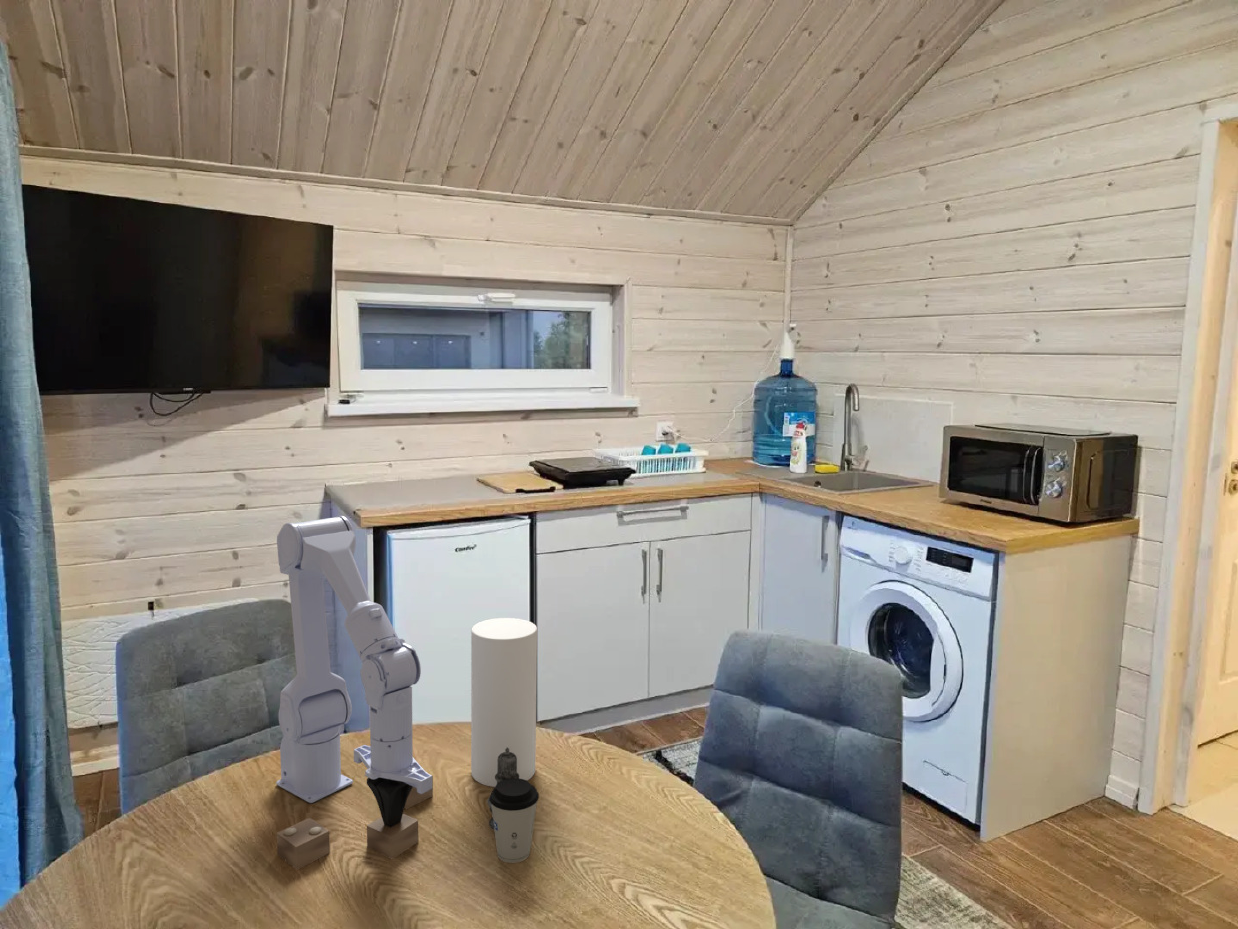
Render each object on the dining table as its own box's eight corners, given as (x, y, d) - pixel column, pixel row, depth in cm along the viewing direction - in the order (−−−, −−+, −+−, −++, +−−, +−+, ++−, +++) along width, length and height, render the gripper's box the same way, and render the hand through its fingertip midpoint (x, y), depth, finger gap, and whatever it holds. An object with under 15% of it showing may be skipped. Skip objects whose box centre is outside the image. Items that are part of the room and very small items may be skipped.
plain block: (367, 848, 119) (366, 825, 118) (393, 831, 123) (393, 809, 123) (392, 860, 116) (391, 837, 116) (418, 843, 120) (418, 820, 120)
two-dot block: (277, 856, 116) (276, 831, 116) (310, 840, 120) (309, 816, 120) (296, 871, 113) (295, 845, 113) (329, 854, 117) (329, 829, 117)
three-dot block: (387, 798, 132) (386, 776, 131) (412, 786, 136) (412, 764, 135) (407, 810, 129) (406, 787, 128) (432, 796, 133) (432, 775, 132)
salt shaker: (519, 836, 122) (519, 759, 121) (481, 830, 123) (481, 754, 122) (531, 814, 128) (532, 740, 126) (494, 809, 129) (495, 736, 127)
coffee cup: (546, 844, 120) (547, 779, 119) (525, 873, 114) (526, 804, 112) (502, 834, 123) (503, 770, 121) (479, 861, 116) (479, 794, 115)
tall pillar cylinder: (531, 788, 136) (533, 640, 132) (465, 786, 136) (465, 638, 132) (538, 756, 146) (540, 618, 143) (477, 754, 146) (477, 616, 143)
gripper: (334, 728, 118) (337, 817, 120) (403, 759, 110) (404, 855, 112) (375, 711, 124) (377, 797, 126) (443, 739, 115) (444, 831, 117)
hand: (392, 822), depth 119 cm, fingers closed
